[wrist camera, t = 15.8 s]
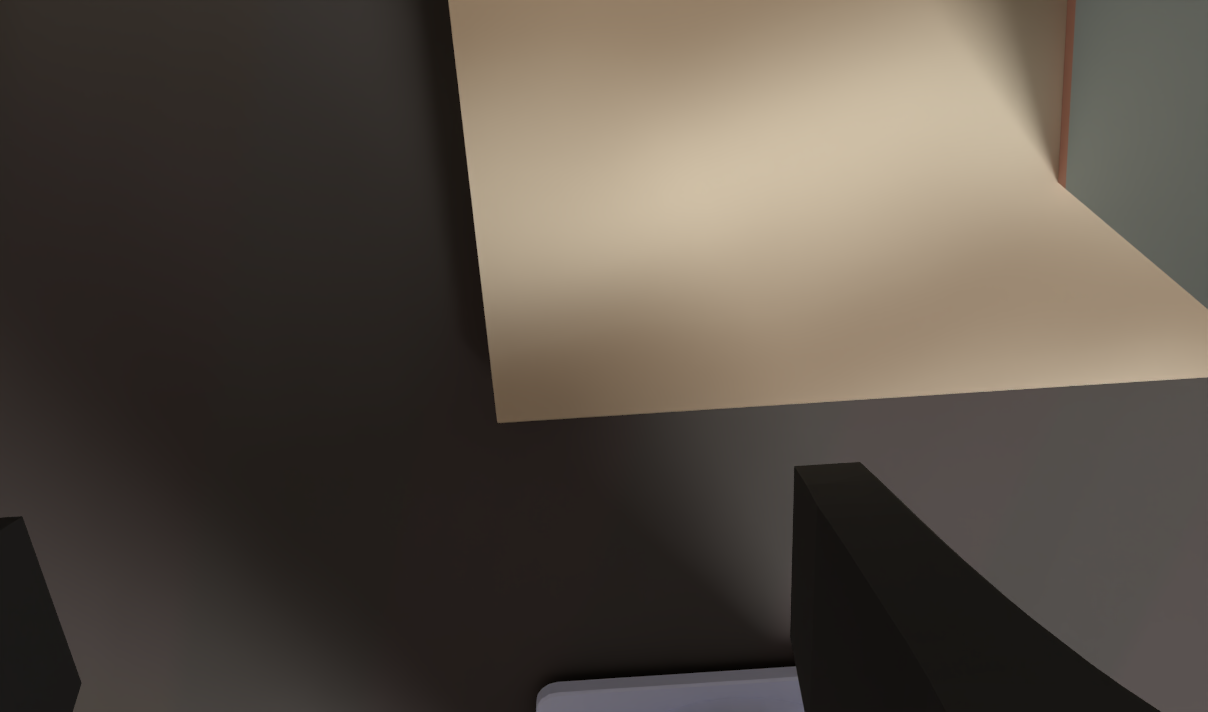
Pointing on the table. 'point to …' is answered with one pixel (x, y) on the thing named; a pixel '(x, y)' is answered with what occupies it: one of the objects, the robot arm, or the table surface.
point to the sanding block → (1141, 127)
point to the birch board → (790, 208)
